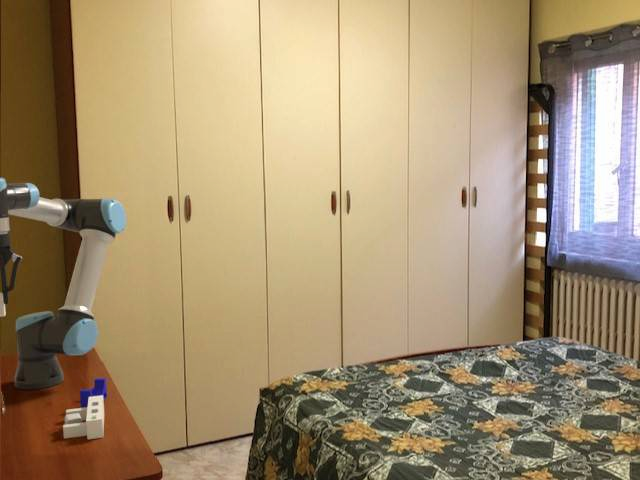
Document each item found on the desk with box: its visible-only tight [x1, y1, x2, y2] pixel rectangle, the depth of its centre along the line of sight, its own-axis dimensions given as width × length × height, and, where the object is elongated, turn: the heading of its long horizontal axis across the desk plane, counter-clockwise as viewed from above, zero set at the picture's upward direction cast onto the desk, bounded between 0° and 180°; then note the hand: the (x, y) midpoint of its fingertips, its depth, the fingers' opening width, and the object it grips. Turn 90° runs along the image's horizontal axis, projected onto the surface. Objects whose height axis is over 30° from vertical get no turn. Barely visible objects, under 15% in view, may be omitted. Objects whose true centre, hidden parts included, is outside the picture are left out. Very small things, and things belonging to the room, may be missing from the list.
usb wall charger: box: [64, 413, 83, 425], centre depth 194 cm, size 4×7×4 cm, turn 26°
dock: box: [62, 395, 105, 440], centre depth 196 cm, size 20×10×5 cm, turn 16°
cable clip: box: [79, 377, 108, 408], centre depth 214 cm, size 12×4×6 cm, turn 175°
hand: (2, 315), depth 203 cm, fingers closed
